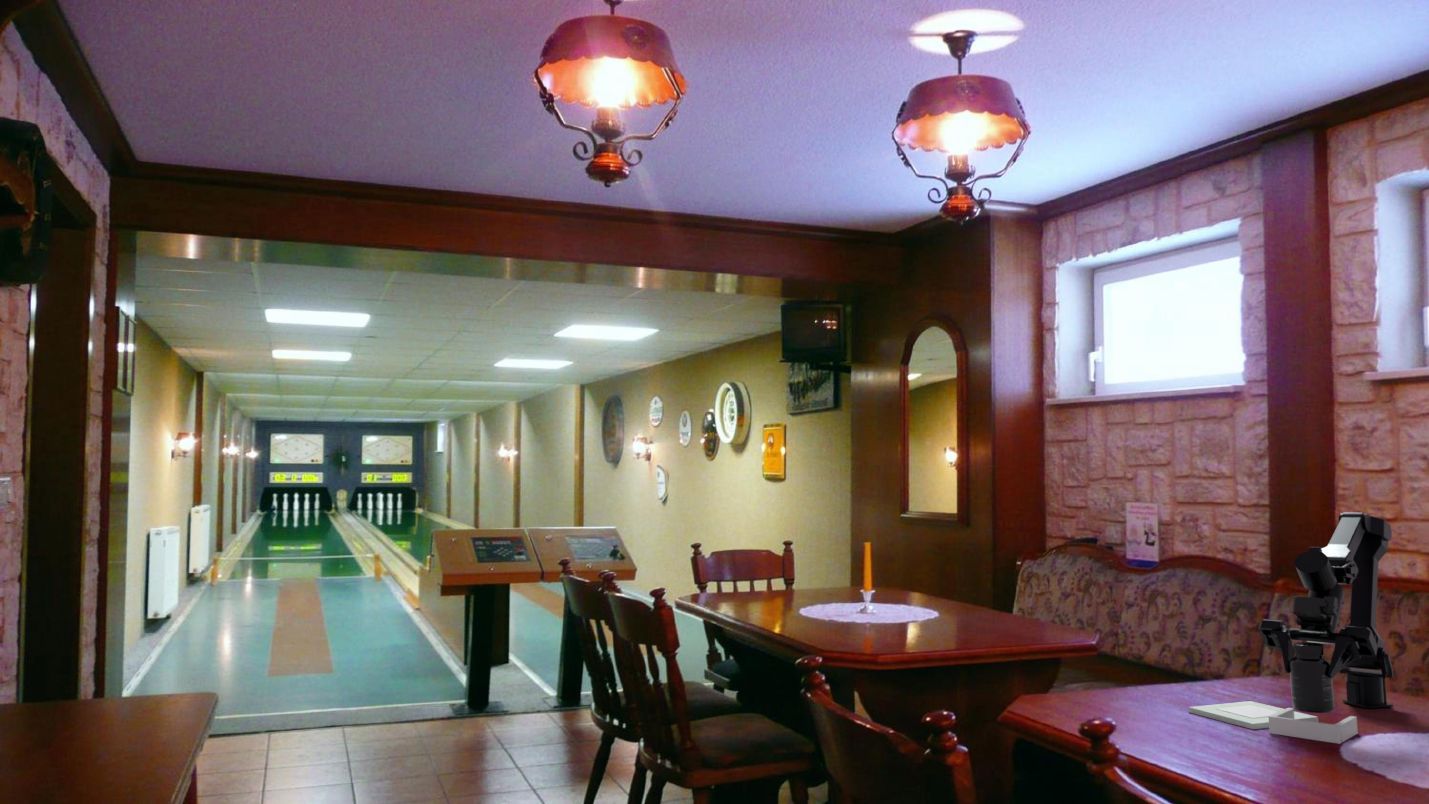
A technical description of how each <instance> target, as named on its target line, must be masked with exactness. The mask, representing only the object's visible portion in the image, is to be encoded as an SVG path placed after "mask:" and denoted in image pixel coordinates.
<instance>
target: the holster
mask: <svg viewBox="0 0 1429 804" xmlns="http://www.w3.org/2000/svg"><path fill="white" fill-rule="evenodd" d="M1283 709H1284V710H1282V711H1280V712H1277V713H1275V714H1273V715H1271V716H1269V728H1268V731H1269V734H1273V735H1279V736H1285V737H1286V736H1287V737H1294V738H1299V739H1305V740H1312V741H1317V742H1325V743H1331V744H1338V745H1340V744H1342V743H1344V742H1345V741H1347V740H1349V739H1350V738H1353V737H1354V736H1356V735H1357V734H1358V731H1359V730H1358V720H1357V719H1358V718H1357V716H1353V715H1350V716H1348V717H1345V718H1343V719H1342V720H1341V721H1338V722H1336V723H1333V724H1332V723H1327V722H1326V723H1325V722H1319V721H1318V722H1312V721H1305V720H1298V719H1294V711H1295V709H1294V707H1287V708H1283Z"/></svg>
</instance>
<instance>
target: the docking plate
mask: <svg viewBox="0 0 1429 804" xmlns="http://www.w3.org/2000/svg"><path fill="white" fill-rule="evenodd" d="M1284 709H1285V708H1283V707H1278V706H1273V705H1269V704H1265V703H1261V702H1257V701H1252V700H1248V701H1247V700H1246V701H1238V702H1228V703H1227V702H1226V703H1216V704H1208V705H1207V704H1206V705H1196V706H1188V713H1190V714H1195V715H1198V716H1202V717H1205V718H1208V719H1209V718H1210V719H1213V720H1217V721H1220V722H1224V723H1227V724H1232V725H1236V726H1240V727H1243V728H1247V729H1249V730H1260V729H1269V716H1271V715H1273V714H1275V713H1277V712H1280V711H1282V710H1284ZM1294 719H1298V720H1305V721H1312V722H1319V717H1318V716H1316V715H1311V714H1309V713H1308V714H1307V713H1305V712H1304V713H1303V712H1300V711H1296V710H1294Z"/></svg>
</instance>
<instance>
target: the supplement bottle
mask: <svg viewBox="0 0 1429 804" xmlns="http://www.w3.org/2000/svg"><path fill="white" fill-rule="evenodd" d="M1293 647H1294V654H1295V655H1294V658H1292V659H1291V660H1290V662H1289V670H1290V672H1289V679H1290V693H1291V702H1292V703H1291V704H1292V708H1294V710H1295V711H1297V712H1302V713H1303V712H1304V713H1308V714H1309V713H1311V714H1329V713H1332V712H1334V711H1335V709H1336V706H1335V704H1336V703H1335V690H1334V682H1333V678H1329V676H1328V671H1329V666H1330V663H1331V661H1329V660H1328V659H1326V658H1325V657H1324V655H1325V650H1324V644H1323V643H1312V642H1307V641H1303V642H1294V643H1293Z"/></svg>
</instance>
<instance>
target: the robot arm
mask: <svg viewBox="0 0 1429 804" xmlns="http://www.w3.org/2000/svg"><path fill="white" fill-rule="evenodd" d="M1392 536H1393V534H1392V527H1391V525H1390V523H1389V522H1387V520H1385V519H1383V518H1379V517H1375V516H1372V515H1370V514H1369V513H1365V512H1362V511H1361V512H1349V511H1348V512H1347V511H1345V512H1342V513H1340V514H1339V515H1338V524H1337V526H1336V528H1335V530H1334V532H1333V534H1332V536H1331V538H1330V539H1329V542H1328V544H1327V545H1326V546H1324V547H1321V546H1309V547H1308V550H1307V551H1304V552H1302V553H1300V554H1299V555H1298V556H1296V557H1295V559H1294V562H1293V565H1294V567H1295V568H1296V571H1297V573H1298V576H1299V579H1300V581H1301V583H1302V585H1303V587H1304V589H1305V590H1308V596H1297V595H1296V596H1294V597H1293V603H1292V615H1295V616H1296V619H1295V622H1296V625H1297V626H1300V628H1295V627H1294V628H1293V627H1292V628H1291V627H1289V626H1287V625H1286V624H1285V621H1284V620H1280V619H1279V620H1278V619H1276V620H1275V619H1265V618H1264V619H1261V621H1260V622H1259V625H1258V627H1257V628H1258V632H1259V634H1260V635H1261V638H1262V640H1263V642H1264V644H1265V646H1266V647H1267V648H1271V649H1276V650H1277V651H1278V652H1281V655H1282V661H1283V665H1284V666H1283V667H1284V670H1285V673H1286V674H1290V670H1289V662H1290V660H1291V659H1292V658H1294V657H1295V656H1296V654H1294V644H1293V641H1294V640H1295V641H1303V642H1311V643H1320V644H1323V645H1325V644H1326V645H1334V650H1333V653H1332V657H1331V659H1330V666H1329V671H1328V676H1329V678H1332V679H1333V678H1334V677H1335V676H1337V674H1346V679H1347V680H1346V681H1345V687H1346V689H1345V690H1346V699H1342V703H1345V704H1348V705H1352V706H1357V707H1359V708H1364V709H1375V708H1376V709H1379V708H1392V707H1394V704H1393V703H1390V702H1389V703H1388V702H1387V689H1386V688H1387V687H1386V679H1388V678H1389V679H1390V678H1394V669H1393V663H1392V661H1391V658H1390V655H1389V654H1388V651H1387V649H1386V648H1385V642H1384V640H1383V638H1382V637H1381V636H1380V634H1379V632H1378V631H1377V628H1376V626H1377V624H1376V623H1377V607H1378V605H1377V603H1378V602H1377V601H1378V580H1379V579H1378V577H1379V576H1378V575H1379V562H1380V561H1381V559H1382V558H1383V557H1384V556H1385V554H1386V553H1387V552H1388V551H1389V543H1390V541H1391V540H1392ZM1342 585H1347V586H1348V585H1351V589H1350V591H1351V592H1350V611H1349V614H1350V615H1349V623H1348V624H1347V625H1346V626H1345V627H1342V628H1341V629H1340V630H1339V632H1337V630H1338V629H1337V628H1338V627H1340V625H1341V620H1340V615H1341V610H1342V605H1344V604H1345V597H1344V596H1345V590H1344V587H1342Z"/></svg>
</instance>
